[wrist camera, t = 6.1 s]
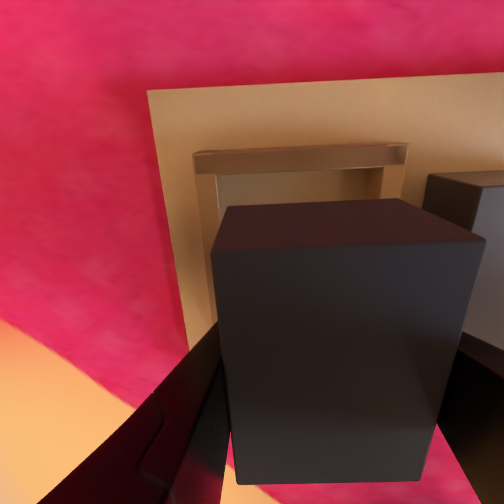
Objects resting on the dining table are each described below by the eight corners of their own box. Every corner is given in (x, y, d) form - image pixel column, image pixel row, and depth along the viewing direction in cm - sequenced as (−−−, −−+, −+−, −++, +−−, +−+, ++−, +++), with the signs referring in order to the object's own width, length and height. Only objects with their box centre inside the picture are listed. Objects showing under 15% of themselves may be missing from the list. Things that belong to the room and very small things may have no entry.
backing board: (518, 347, 17) (598, 411, 13) (196, 360, 17) (180, 426, 13) (629, 69, 11) (822, 38, 8) (155, 93, 12) (108, 75, 8)
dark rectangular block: (372, 379, 11) (421, 482, 8) (241, 383, 11) (236, 486, 8) (399, 197, 8) (491, 238, 5) (226, 205, 8) (208, 250, 5)
